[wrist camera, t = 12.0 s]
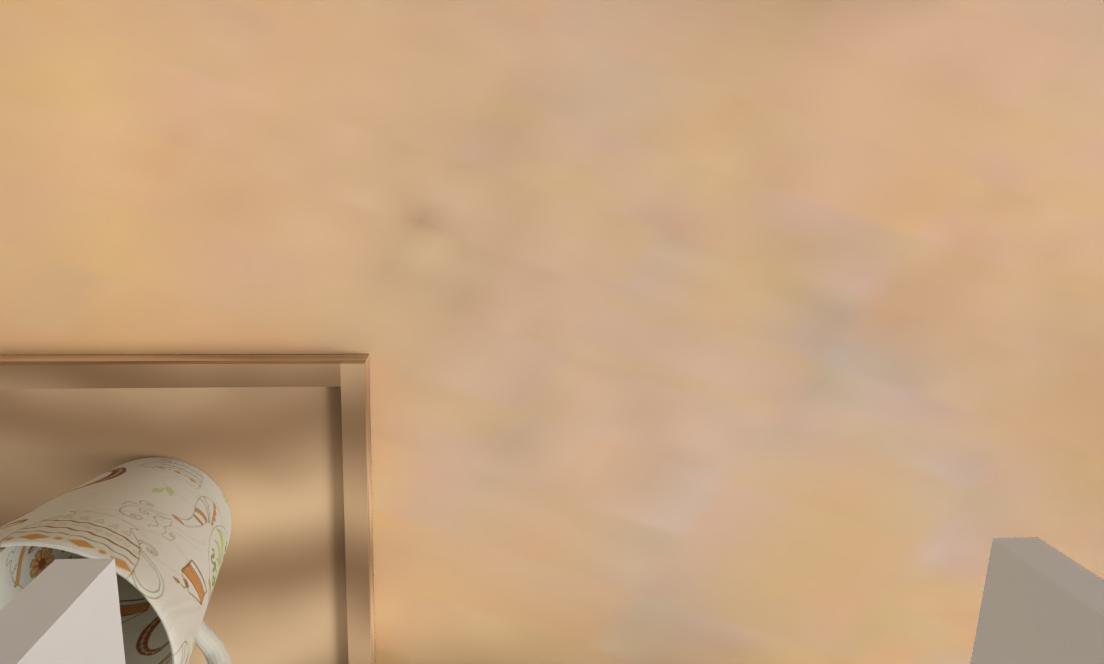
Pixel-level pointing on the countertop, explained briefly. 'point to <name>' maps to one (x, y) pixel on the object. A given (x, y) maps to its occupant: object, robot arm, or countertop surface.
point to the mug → (136, 552)
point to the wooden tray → (223, 477)
